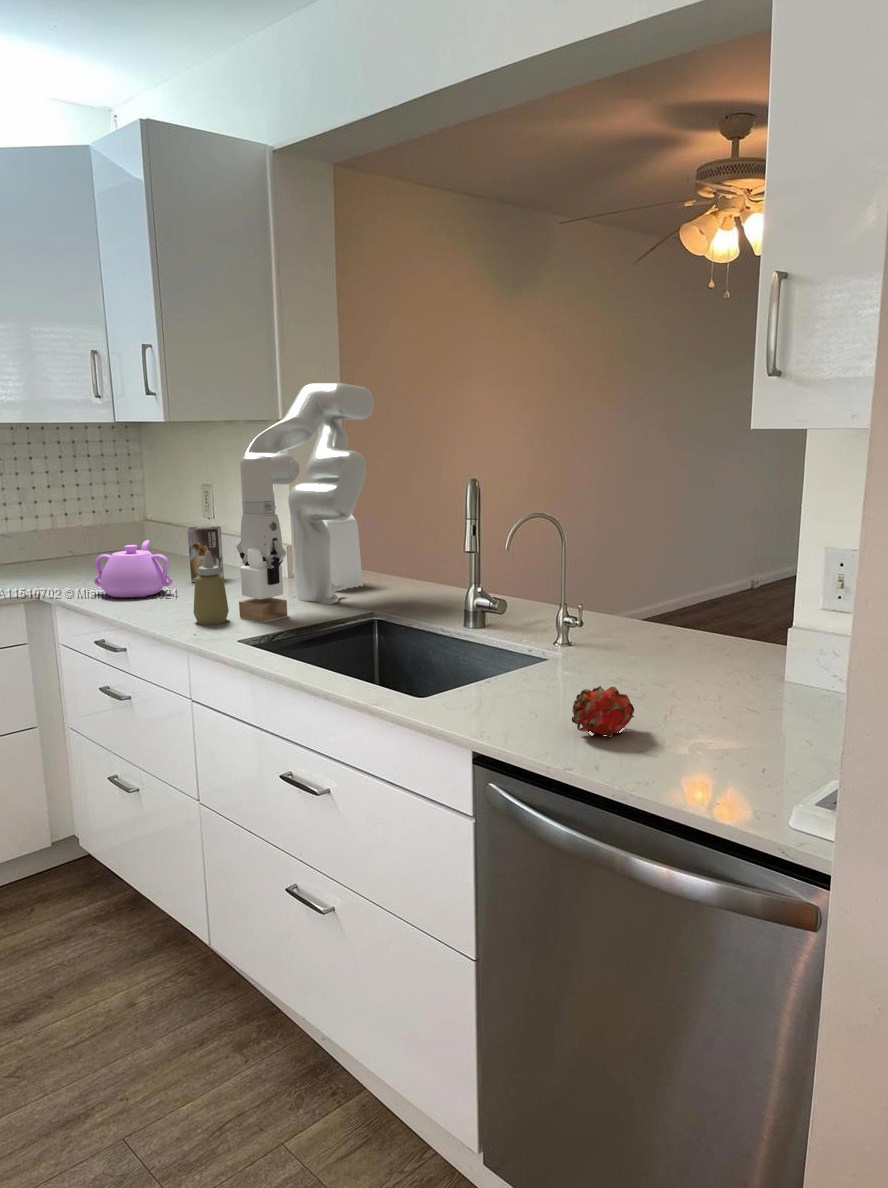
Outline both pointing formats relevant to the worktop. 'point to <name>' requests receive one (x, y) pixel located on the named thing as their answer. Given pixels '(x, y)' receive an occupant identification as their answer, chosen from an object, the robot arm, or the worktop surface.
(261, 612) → the base block
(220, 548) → the coffee box
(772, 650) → the worktop surface
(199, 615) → the squeeze bottle
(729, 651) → the worktop surface
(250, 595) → the medicine bottle
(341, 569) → the milk
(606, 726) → the dragon fruit
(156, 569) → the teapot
